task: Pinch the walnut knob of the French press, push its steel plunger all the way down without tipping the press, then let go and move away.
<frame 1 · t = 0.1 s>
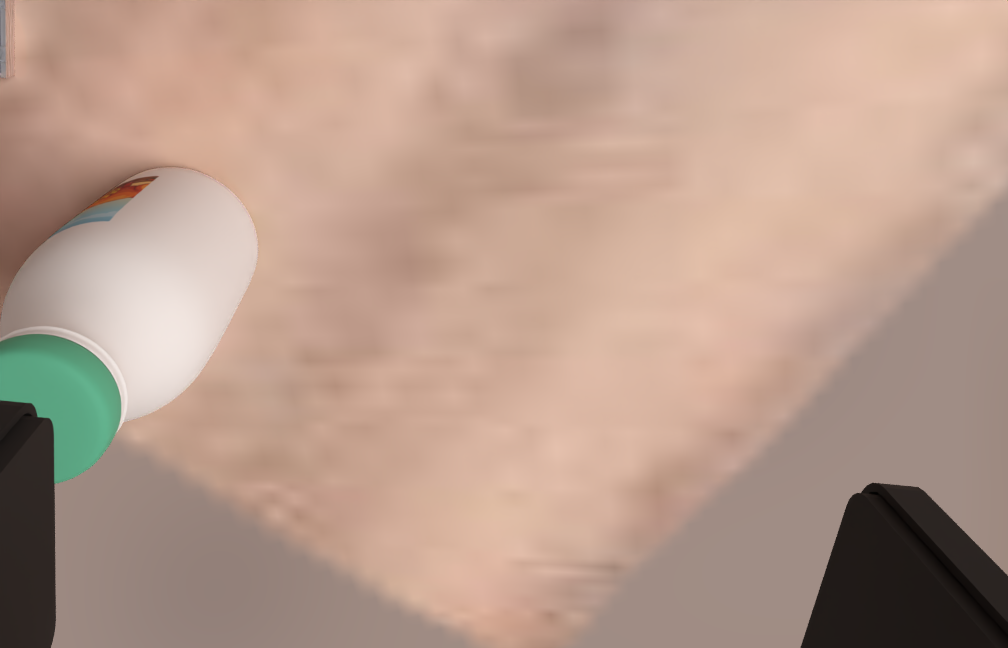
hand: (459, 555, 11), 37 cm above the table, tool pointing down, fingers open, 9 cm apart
milk bottle: (182, 240, 46), on the table
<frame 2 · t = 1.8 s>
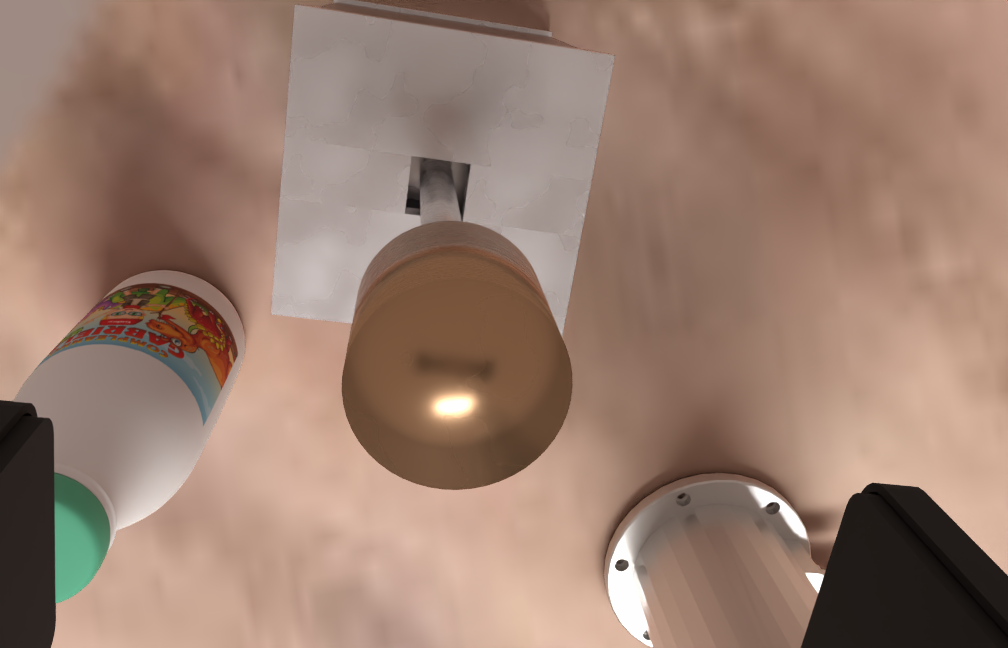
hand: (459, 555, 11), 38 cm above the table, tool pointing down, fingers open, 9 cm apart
plunger: (442, 239, 25), point 23 cm above the table, slide at 0.0 cm
milk bottle: (174, 334, 49), on the table
press: (430, 122, 47), on the table
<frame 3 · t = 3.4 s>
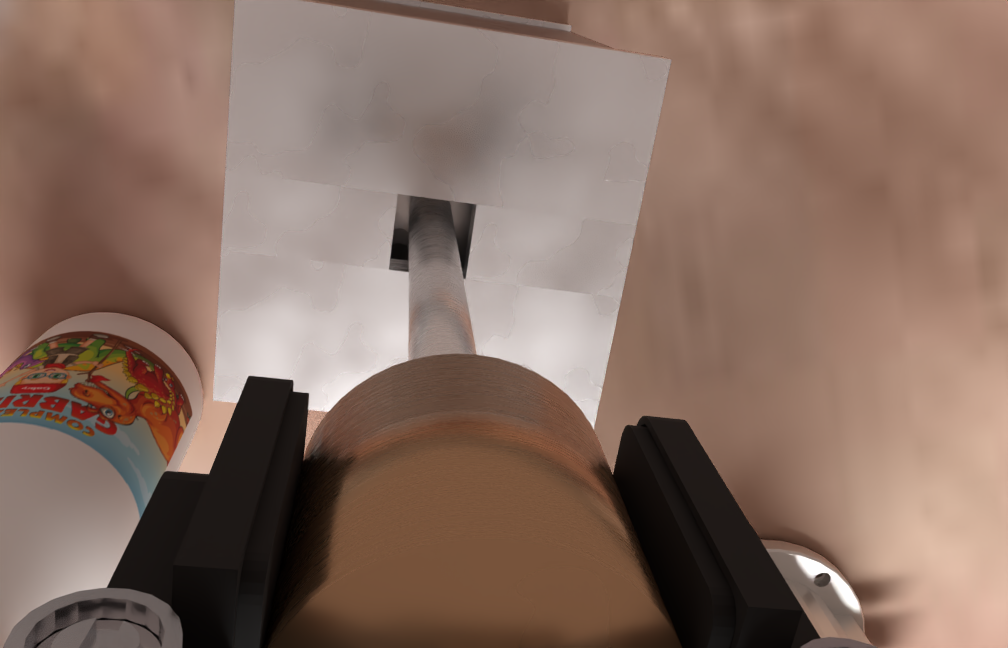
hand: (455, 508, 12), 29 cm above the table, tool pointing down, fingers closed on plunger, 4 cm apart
plunger: (440, 329, 18), point 22 cm above the table, slide at 0.0 cm, touching gripper
milk bottle: (118, 386, 41), on the table
press: (423, 134, 39), on the table
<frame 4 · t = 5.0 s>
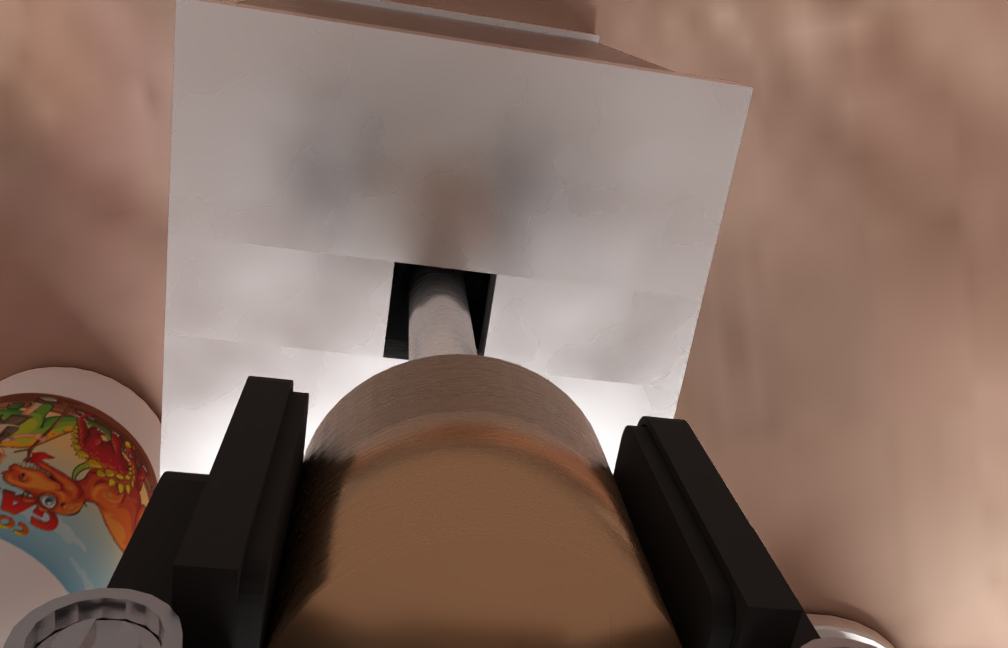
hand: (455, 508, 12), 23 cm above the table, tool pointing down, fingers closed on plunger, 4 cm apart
plunger: (440, 330, 18), point 17 cm above the table, slide at 5.8 cm, touching gripper
milk bottle: (75, 449, 36), on the table
press: (426, 161, 33), on the table
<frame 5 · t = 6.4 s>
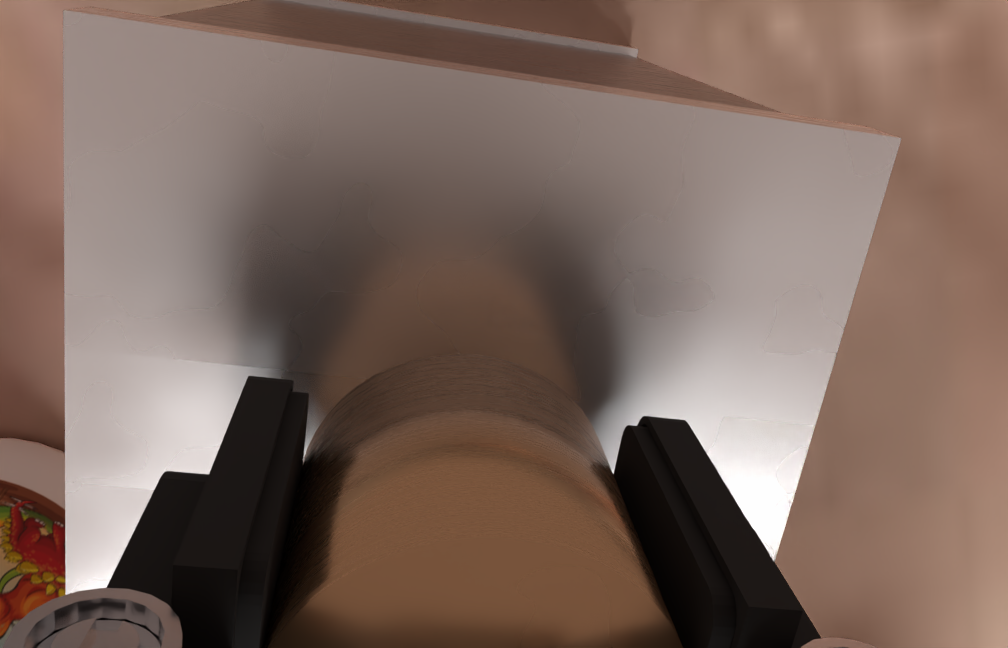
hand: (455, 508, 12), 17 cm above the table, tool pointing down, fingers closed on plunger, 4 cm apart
plunger: (441, 330, 18), point 11 cm above the table, slide at 11.4 cm, touching gripper
milk bottle: (19, 530, 31), on the table
press: (429, 197, 28), on the table
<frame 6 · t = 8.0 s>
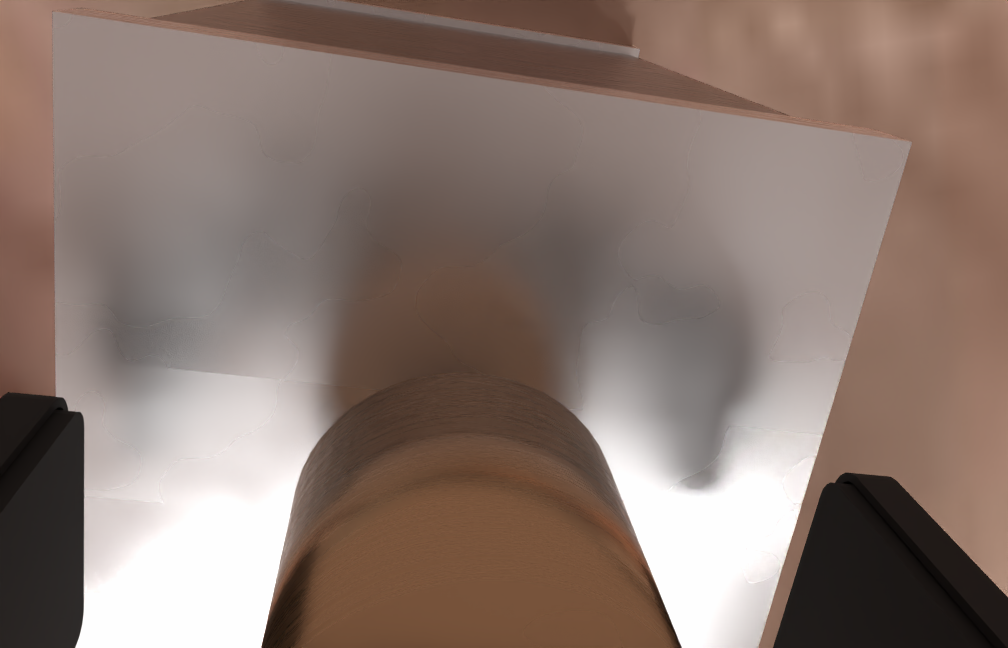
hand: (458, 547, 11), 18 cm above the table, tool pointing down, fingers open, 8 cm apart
plunger: (441, 340, 17), point 11 cm above the table, slide at 11.1 cm
press: (428, 198, 28), on the table
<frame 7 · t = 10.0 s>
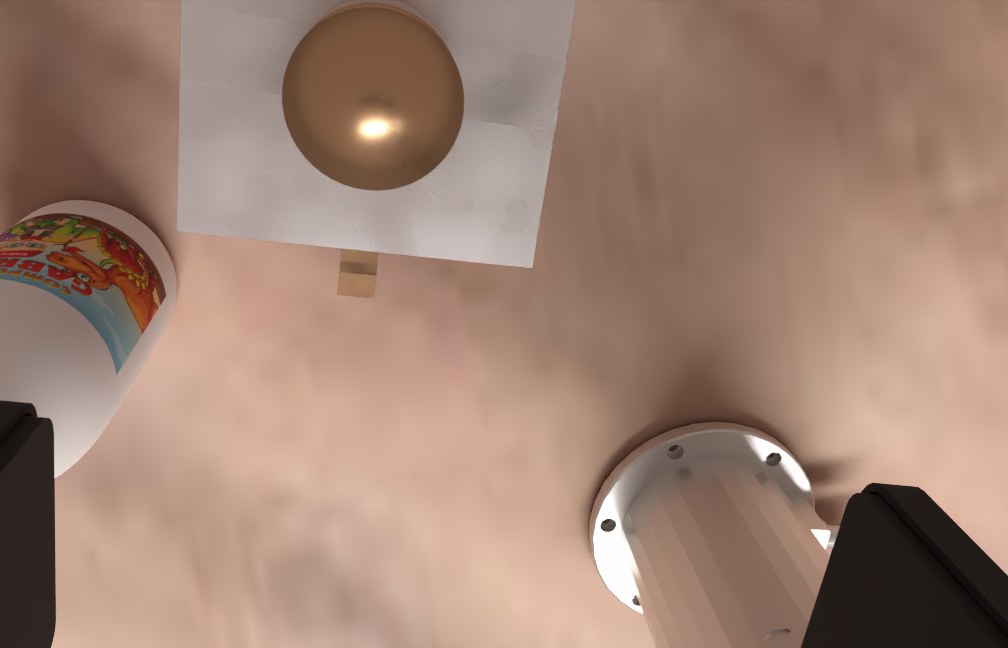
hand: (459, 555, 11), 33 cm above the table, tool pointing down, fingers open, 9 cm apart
plunger: (378, 52, 30), point 11 cm above the table, slide at 11.1 cm
milk bottle: (95, 275, 43), on the table
press: (381, 22, 40), on the table
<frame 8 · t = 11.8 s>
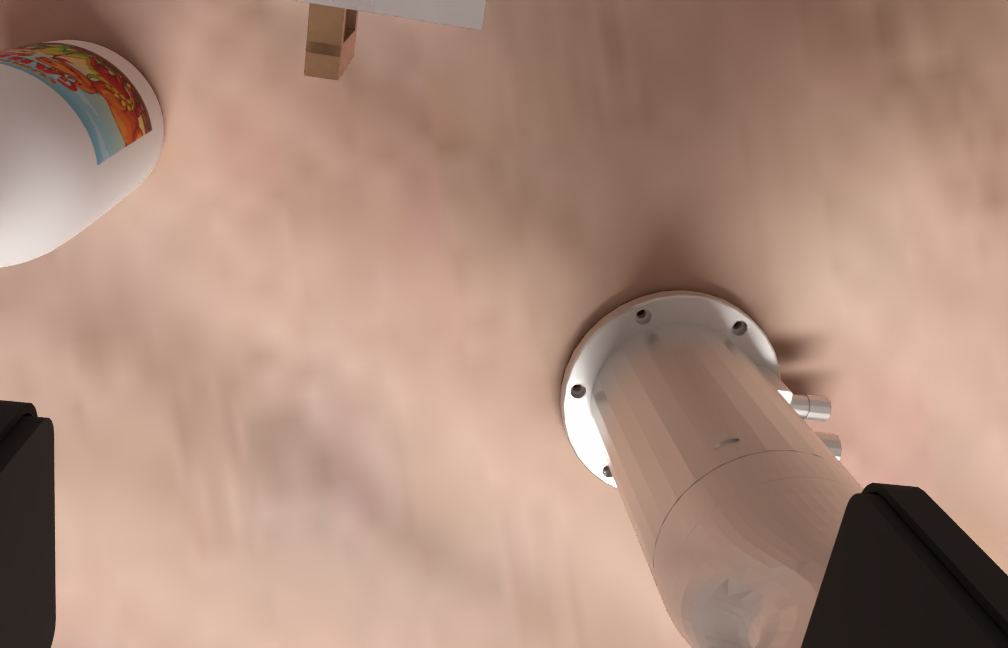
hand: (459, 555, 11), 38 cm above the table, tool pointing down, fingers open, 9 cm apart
milk bottle: (87, 120, 45), on the table
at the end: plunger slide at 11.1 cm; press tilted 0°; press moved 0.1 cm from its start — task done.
